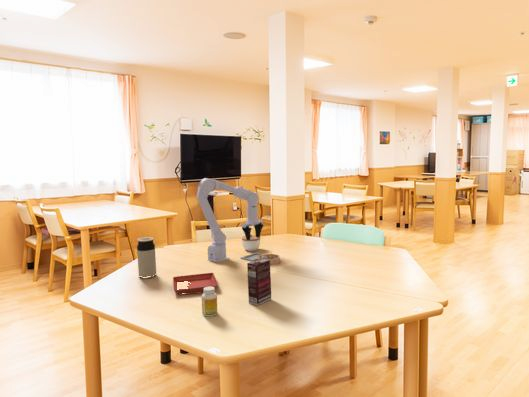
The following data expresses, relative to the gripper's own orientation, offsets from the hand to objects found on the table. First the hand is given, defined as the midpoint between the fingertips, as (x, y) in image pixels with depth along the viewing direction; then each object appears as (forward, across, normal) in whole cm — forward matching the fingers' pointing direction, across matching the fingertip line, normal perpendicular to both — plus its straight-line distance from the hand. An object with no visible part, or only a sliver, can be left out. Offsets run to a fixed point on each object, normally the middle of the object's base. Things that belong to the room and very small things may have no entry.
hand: (253, 238), depth 220 cm
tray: (+10, -3, -4) cm, 11 cm away
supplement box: (+10, -47, -47) cm, 67 cm away
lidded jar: (+10, +9, +10) cm, 17 cm away
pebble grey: (+9, -5, -14) cm, 17 cm away
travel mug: (+10, -56, +16) cm, 59 cm away
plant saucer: (+10, -52, -14) cm, 55 cm away
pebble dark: (+8, -4, -16) cm, 18 cm away
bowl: (+10, -4, -14) cm, 18 cm away
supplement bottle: (+10, -67, -41) cm, 79 cm away
